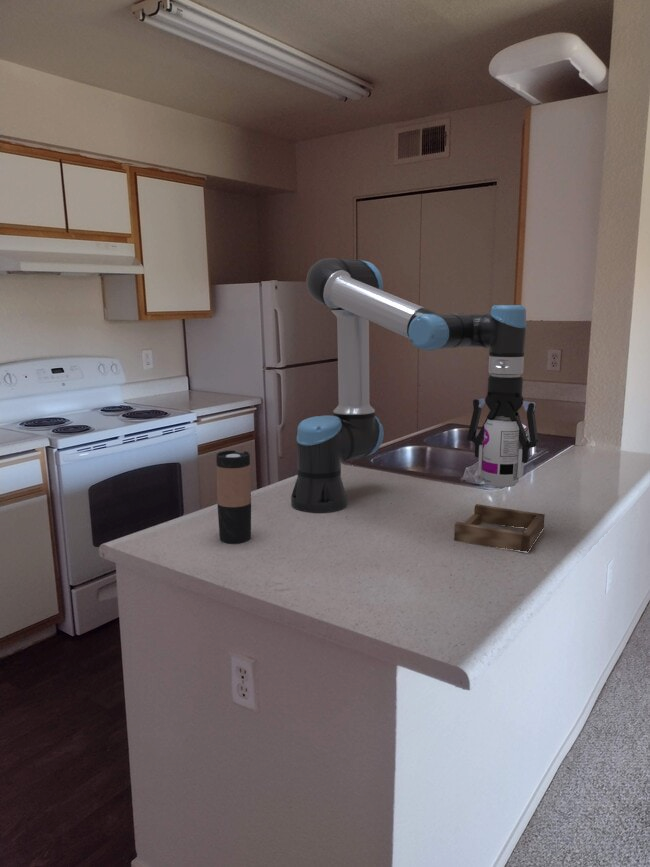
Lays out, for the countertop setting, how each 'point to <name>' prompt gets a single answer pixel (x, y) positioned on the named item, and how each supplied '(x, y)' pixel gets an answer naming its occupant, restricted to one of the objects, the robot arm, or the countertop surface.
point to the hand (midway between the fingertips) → (500, 473)
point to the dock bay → (500, 537)
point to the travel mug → (234, 496)
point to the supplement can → (500, 452)
